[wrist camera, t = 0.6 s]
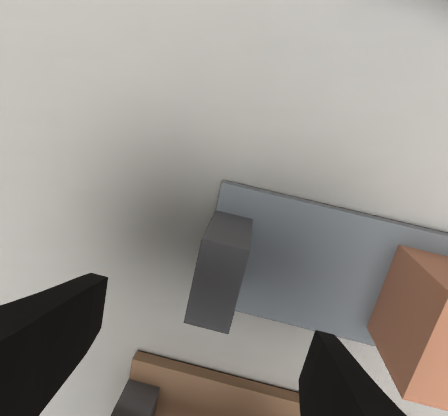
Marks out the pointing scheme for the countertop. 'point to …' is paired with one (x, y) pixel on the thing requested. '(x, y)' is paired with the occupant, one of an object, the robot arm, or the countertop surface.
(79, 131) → the countertop surface
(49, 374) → the robot arm
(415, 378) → the terracotta block
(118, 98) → the countertop surface
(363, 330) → the slate strip
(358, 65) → the countertop surface
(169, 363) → the walnut strip
